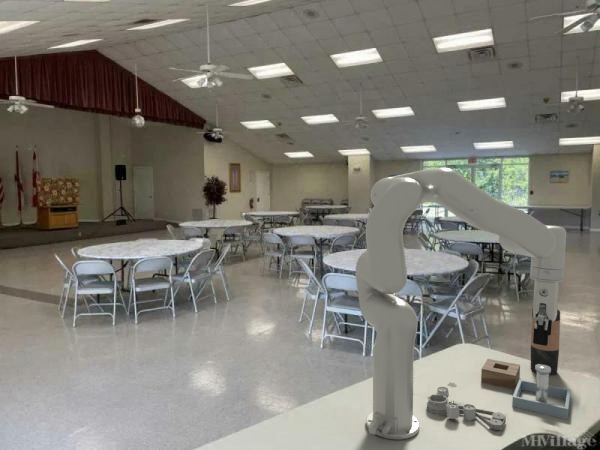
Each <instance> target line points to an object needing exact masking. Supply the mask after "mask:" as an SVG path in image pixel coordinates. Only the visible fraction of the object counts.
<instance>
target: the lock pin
mask: <svg viewBox="0 0 600 450" xmlns="http://www.w3.org/2000/svg"><path fill="white" fill-rule="evenodd" d="M535 370H536V371H537V373H536V381H535V383H536V393H535V401H539V402H544V403H548V400H549V395H548V385H549V380H550V378H549V377H550V376H549V373H551V368H550V367H549V366H547V365H542V364H537V365H535ZM548 404H549V403H548Z"/></svg>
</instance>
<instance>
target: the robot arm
mask: <svg viewBox="0 0 600 450" xmlns="http://www.w3.org/2000/svg"><path fill="white" fill-rule="evenodd" d="M369 195H370V201H371V203H372V205H373V207H372V209H371V210H370V213H369V215H368V217H367V220H366V224H365V240H366V241H365V242H366V243H365V244H366V245H365V246H366V250H365V251H364V252H362V253H361V254H360V255H359V257H358V259H357V261H356V264H355V265H356V266H355V279H356V281H355V282H356V287H357V294H358V302H359V303H358V304H359V309H360V313H361V316H362V318H363V319H364V320H365V321H366V323H368V324H369V325H370V326H371V327H372V328H373V329H374V330H375V331H376V336H375V339H374V340H375V341H374V344H373V350H372V411H371V413H369V414H368V415H367V416H366V420H365V421H366V427H367V429H368V433H369V434H370V435H377V436H378V437H380V438H384V439H389V440H406V439H410V438H412V437H414V436H416V435H417V434H418V433H419V431H420V422H419V420H418V418H416V417H415V415H413V413H414V357H415V356H414V355H415V353H414V352H415V341H416V337H417V332H418V325H419V323H418V316H417V313H416V311H415V310H414V308H413V307H412V306H411V305H410V304H409V303H408V302H407V301H406V300H403V299H401V298H400V297H398V296H396V294H398V293H400V292H401V291H403V289H404V288H405V287H406V285H407V281H408V270H407V263H406V255H405V248H404V228H405V225H406V223H407V221H408V219H409V218H410V216H412V214H413V213H414V212H415V211H416V210H418V208H419V207H420V205H421V204H425V203H426V204H427V203H431V204H432V203H433V204H434V203H435V204H437V205H439V206H440V207H442V208H444V209H445V210H446V211H449V212H450V213H451V214H453V215H454V216H456V217H458V219H460V220H461V221H463V222H465V223H466V224H468V225H469V226H471V227H473V228H476V229H478V230H480V231H484V232H487V233H489V234H490V233H491V234H494V235H497V236H498V242H499V245H500V246H501V248H502V249H503V250H505V251H507V252H509V253H511V254H514V255H521V256H524V257H525V256H526V257H530V272H529V279H530V280H534V286H533V303H532V309H533V317H534V318H535V319H536V321H535V328H534V336H533V343H534V344H539V345H544V346H547V344H548V335H551V326H552V322H553V321H555V319H556V316H557V310H558V303H559V283H562V282H564V274H565V271H564V270H565V261H566V257H565V256H566V245H567V244H566V243H567V230H566V229H565V228H564V227H562V226H558V225H557V226H556V225H546V224H544V223H542V221H539V220H538V219H537V218H535V217H533V216H532V215H531V214H528V213H527V212H525V211H523V210H521V209H518V208H517V207H514V206H512V205H510V204H509V203H506V202H504V201H502V200H500V199H497V198H495V196H494V197H493V196H492V195H490V194H489V193H487V192H486V191H485V190H483V189H481V188H480V187H479V186H477V185H476V184H474V183H473V182H472V181H470V180H469V179H467V178H466V177H465V176H463V175H462V174H460V173H459V172H458V171H456V170H453V169H451V168H448V167H440V168H439V167H438V168H426V169H421V170H418V171H413V172H409V173H403V174H398V175H394V176H389V177H384V178H381V179H379V180H378V181H377V182H375V183H374V184H373V186H372V188H371V190H370V194H369Z"/></svg>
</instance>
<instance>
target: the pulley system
mask: <svg viewBox="0 0 600 450" xmlns="http://www.w3.org/2000/svg"><path fill="white" fill-rule="evenodd" d="M446 386H447V387H446ZM446 386H439V387H437V389H436V391H437V393H434V394H430V395H429V396H428V397H427V399H428V401H427V402H426V410H427V411H428V412H429V413H431V414H432V415H436V416H446V417H447V418H449V419H451V420H455V419H459V417H460V416H461V415H463V419H465V420H467V421H473V420H476V419H477V418H478V419H479V420H480V421H481V422H483V423H484V424H486V425H487V426H488V427H489V428H491V429H492V430H495V431H498V430H503V428H504V426H505V424H506V420H507V419H506V417H507V416H506V415H505V414H504V413H502V412H495V411H489V410H484V409H479V408H476V406H475V405H474V404H470V403H469V404H468V403H467V404H463V406H462V405H459V404H457V403H456V402H455V401H454V400H453V401H452V402H449V398H448V397H447V396H450V394H449V393H450V392H449V388H448V387H450V388H455V387H457V383H456V382H451V381H449V382H448V384H446ZM480 414H482V415H486V416H491V417H492V418H490V419H489V421H488V420H487V419H485V418H484V417H482V416H481V415H480Z"/></svg>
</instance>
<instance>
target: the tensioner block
mask: <svg viewBox="0 0 600 450" xmlns="http://www.w3.org/2000/svg"><path fill="white" fill-rule="evenodd" d="M480 371H481V374H480V382H481V383H483V384H487V385H492V386H495V387H501V388H506V389H511V390H514V391H515V389H516V387H517V384H518V382H519V379H520V376H521V365H520V364H518V363H512V362H507V361H502V360H497V359H492V358H487V359H486V360H485V362H484V364H483V365H482V367H481V370H480Z"/></svg>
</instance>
